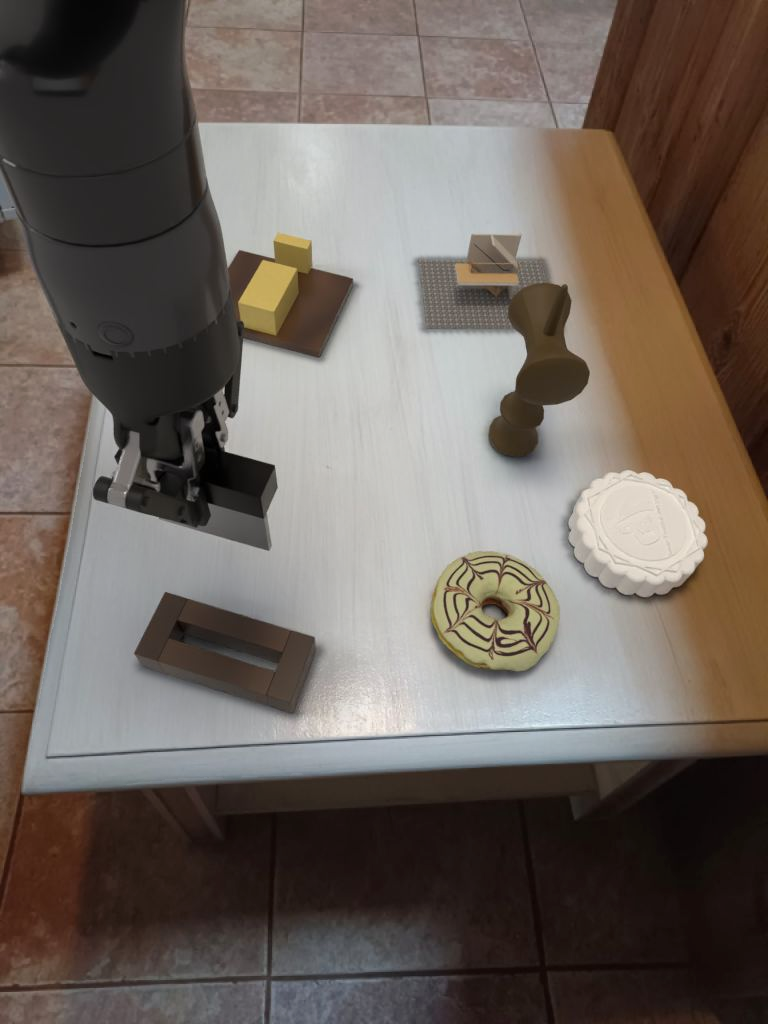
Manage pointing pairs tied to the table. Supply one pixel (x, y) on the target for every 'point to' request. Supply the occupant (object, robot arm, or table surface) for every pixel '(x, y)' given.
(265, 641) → the stand
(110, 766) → the table surface
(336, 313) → the butter board
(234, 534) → the bench knife
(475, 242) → the architectural model
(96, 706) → the table surface
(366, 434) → the table surface
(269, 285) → the butter block
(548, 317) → the kendama
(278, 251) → the butter slice
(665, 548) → the mooncake
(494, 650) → the decorated donut
